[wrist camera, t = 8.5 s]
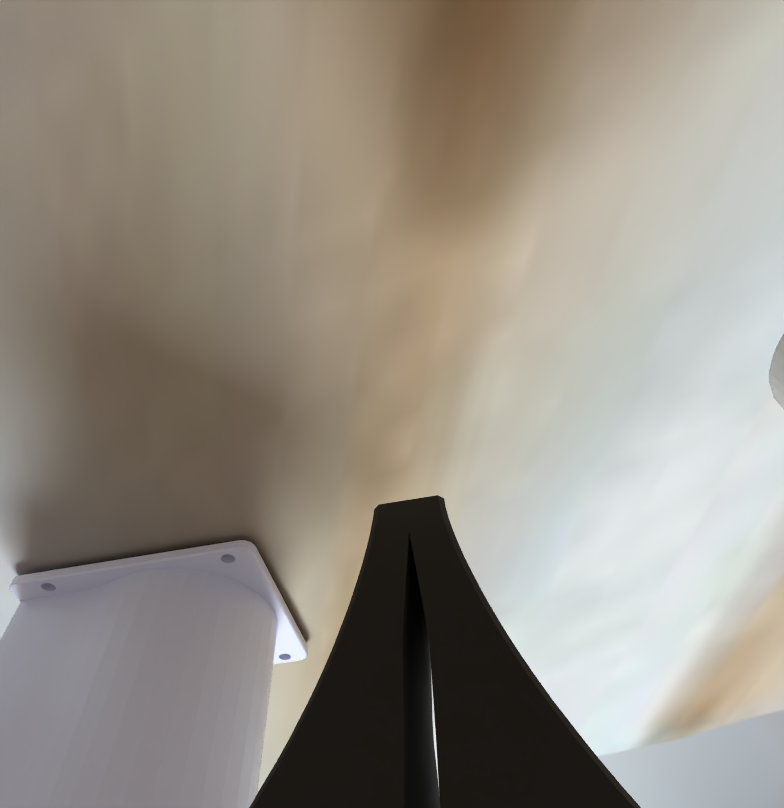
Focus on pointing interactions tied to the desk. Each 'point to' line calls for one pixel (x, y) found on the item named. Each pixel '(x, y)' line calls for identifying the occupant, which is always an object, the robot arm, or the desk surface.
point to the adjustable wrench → (778, 373)
